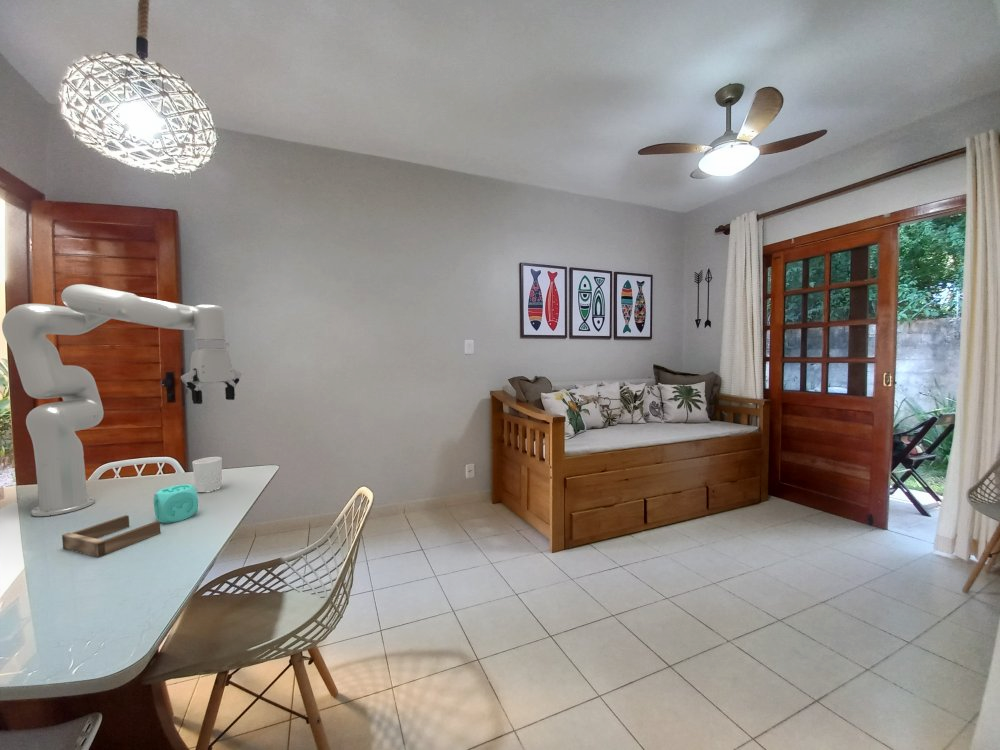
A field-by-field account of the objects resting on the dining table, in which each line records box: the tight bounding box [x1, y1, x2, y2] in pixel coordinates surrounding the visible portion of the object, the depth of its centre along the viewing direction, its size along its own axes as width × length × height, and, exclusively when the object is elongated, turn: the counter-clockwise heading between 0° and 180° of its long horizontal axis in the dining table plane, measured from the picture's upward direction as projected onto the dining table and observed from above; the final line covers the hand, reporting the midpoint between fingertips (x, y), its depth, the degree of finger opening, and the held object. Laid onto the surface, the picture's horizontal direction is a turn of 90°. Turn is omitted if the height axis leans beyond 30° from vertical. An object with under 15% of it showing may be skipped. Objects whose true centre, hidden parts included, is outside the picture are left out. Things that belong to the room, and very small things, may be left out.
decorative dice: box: [153, 484, 199, 524], centre depth 109 cm, size 8×8×8 cm
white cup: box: [191, 456, 223, 493], centre depth 130 cm, size 8×8×10 cm
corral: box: [61, 514, 162, 558], centre depth 95 cm, size 13×12×3 cm
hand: (214, 401), depth 120 cm, fingers open, 9 cm apart
